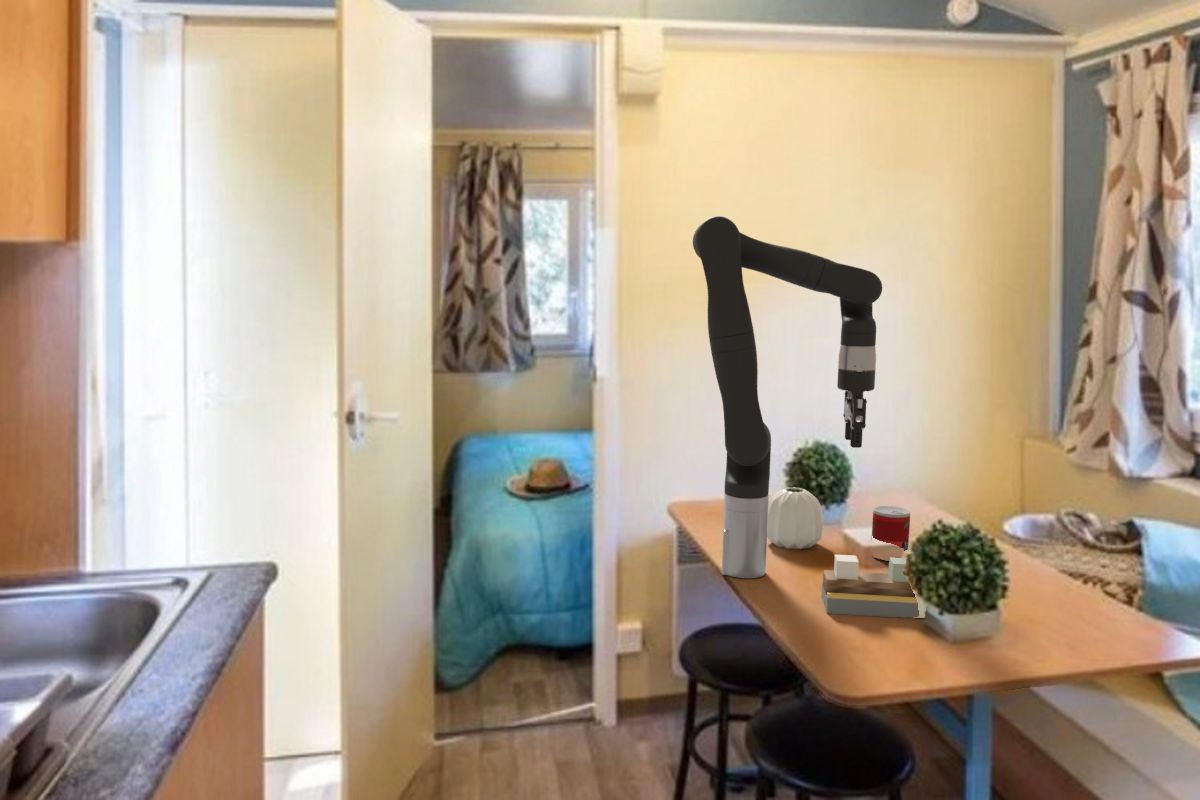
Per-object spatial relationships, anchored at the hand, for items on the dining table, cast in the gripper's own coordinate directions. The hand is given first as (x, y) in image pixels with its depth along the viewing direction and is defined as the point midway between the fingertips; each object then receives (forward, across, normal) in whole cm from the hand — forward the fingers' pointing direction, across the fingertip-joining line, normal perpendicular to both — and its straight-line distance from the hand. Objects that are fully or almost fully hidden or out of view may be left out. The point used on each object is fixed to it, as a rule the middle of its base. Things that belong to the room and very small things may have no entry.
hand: (852, 443), depth 189 cm
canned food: (+28, -12, +11) cm, 33 cm away
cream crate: (+22, +21, -3) cm, 31 cm away
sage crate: (+22, +21, +7) cm, 31 cm away
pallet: (+25, +21, +2) cm, 33 cm away
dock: (+28, +21, +2) cm, 35 cm away
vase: (+28, -18, -10) cm, 35 cm away
